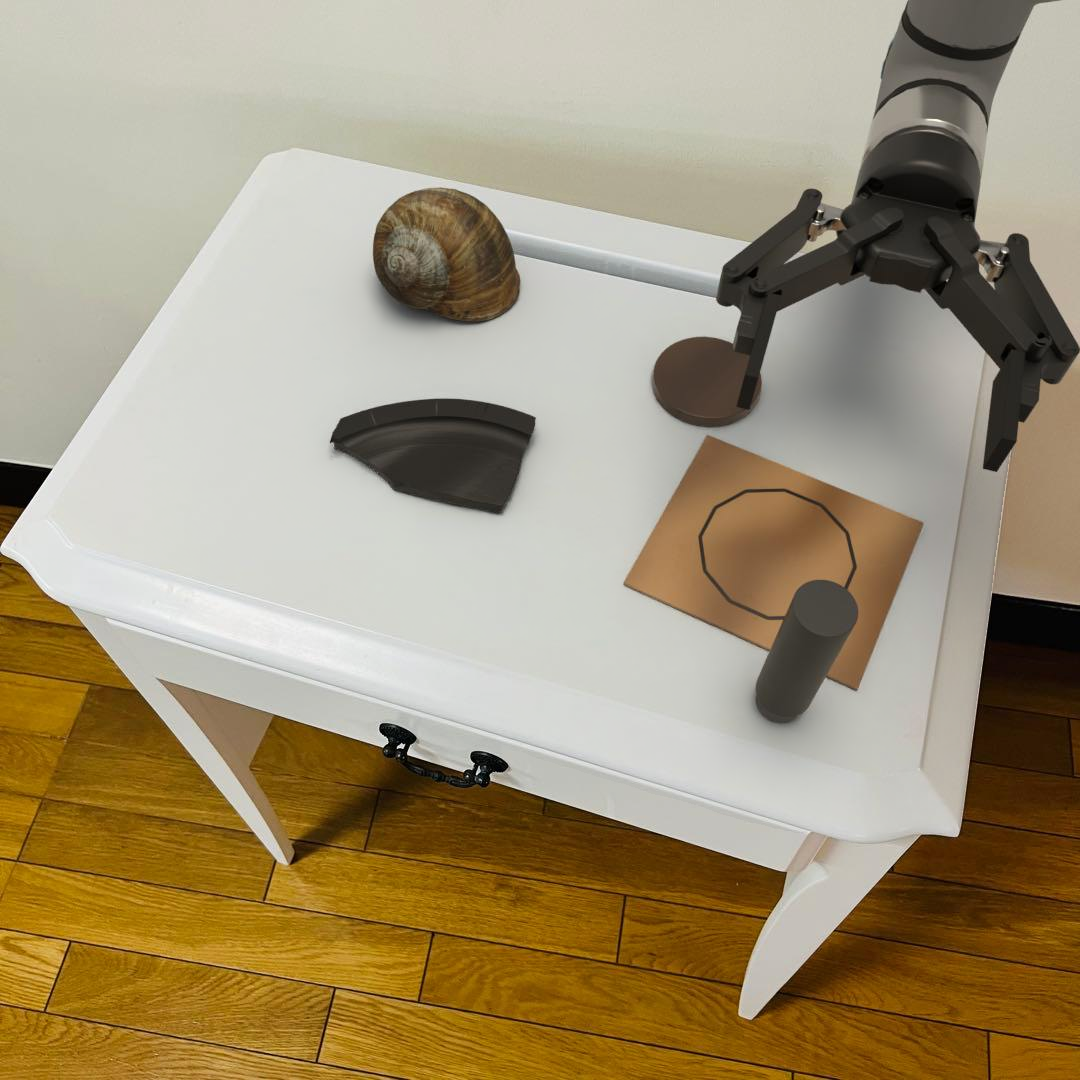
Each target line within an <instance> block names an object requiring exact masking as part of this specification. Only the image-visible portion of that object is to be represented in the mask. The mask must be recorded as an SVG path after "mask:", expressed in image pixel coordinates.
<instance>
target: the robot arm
mask: <svg viewBox="0 0 1080 1080" xmlns="http://www.w3.org/2000/svg"><path fill="white" fill-rule="evenodd" d="M1059 1H1061V0H907V1H906V4H905V7H904V10H903V12H901V13H902V14H901V16H900V19H899V22H898V26H897V29H896V31H895V32H894V35H893V38H892V39H891V41H890V43H889V45H888V47H887V52H886V55H885V58H884V60H883V62H882V65H881V72H880V85H879V89H878V94H877V98H876V103H875V109H874V113H873V116H872V120H871V122H870V126H869V130H868V134H867V138H866V142H865V145H864V149H863V154H862V158H861V162H860V168H859V171H858V174H857V178H856V181H855V186H854V189H853V194H852V199H851V203H850V204H848V205H847V206H846V207H845V208H843V209H842V208H841V207H836V206H832V205H829V204H826V203H823V202H822V201H823V200H822V199H823V193H822V191H820V190H818V189H817V188H807V189H805V190H804V191H803V192H802V195H801V196H800V197H799V200H798V203H797V204H796V207H795V208H794V209H793V210H792V211H790V212H788V214H786V215H785V216H784V217H783V218H781V219H780V220H779V221H778V222H776V223H775V224H774V225H773V226H772V227H770V228H769V229H767V230H766V231H765V232H763V234H761V235H760V236H759V237H758V238H756V239H755V240H753V241H752V242H751V243H750V244H748V245H747V246H746V247H745V248H744V249H742V250H741V251H739V252H738V253H737V254H736V255H734V256H733V257H732V258H731V259H730V260H727V262H726V263H724V265H723V266H722V269H721V273H720V277H719V282H718V285H717V286H718V287H717V291H716V296H715V300H716V303H717V304H718V305H720V306H722V307H725V308H728V307H732V306H734V307H736V308H737V309H738V311H740V316H739V318H738V319H739V320H738V323H737V326H736V330H735V334H734V338H733V342H732V343H733V348H734V352H737V353H741V354H745V355H749V356H750V358H749V362H748V365H747V369H746V372H745V376H744V380H743V383H742V387H741V391H740V394H739V398H738V402H737V406H736V407H739V408H743V409H747V410H750V406H751V403H752V399H753V395H754V392H755V388H756V385H757V381H758V378H759V374H760V373H761V371H762V367H763V364H764V360H765V356H766V353H767V349H768V346H769V343H770V342H769V341H770V338H771V335H772V331H773V327H774V324H775V319H776V316H777V313H778V312H781V311H782V310H784V309H786V308H788V307H791V306H792V305H795V304H796V303H799V302H801V301H803V300H805V299H807V298H809V297H811V296H813V295H815V294H818V293H819V292H821V291H823V290H826V289H828V288H830V287H832V286H834V285H836V284H838V286H844V285H846V284H848V283H851V282H853V281H855V280H857V279H859V278H861V277H863V276H866V277H868V278H869V282H871V283H875V284H879V285H893V286H897V287H900V288H902V289H904V290H907V291H910V292H914V293H919V294H921V293H922V291H923V290H925V292H926V293H927V294H928V295H929V297H931V299H932V300H933V301H934V302H935V303H936V305H937V306H938V307H939V308H940V309H941V310H945V309H948V310H949V311H950V312H951V313H952V314H953V316H955V319H957V320H958V321H959V322H960V323H961V325H962V326H963V327H964V328H965V330H966V331H967V332H968V333H969V334H970V335H971V337H972V338H973V339H974V340H975V341H976V343H977V344H978V345H979V346H980V348H982V350H983V351H984V352H985V353H986V355H987V356H988V357H989V358H990V359H991V361H993V363H994V364H995V365H996V366H997V367H998V368H999V370H998V372H997V373H996V375H995V377H994V379H993V380H992V385H991V395H990V401H989V402H990V403H989V409H988V420H987V427H986V436H985V443H984V444H985V445H984V453H983V462H982V469H983V470H986V471H990V472H995V473H998V471H999V469H1000V468H1001V466H1002V465H1003V463H1004V462H1005V460H1006V459H1007V457H1008V456H1009V454H1010V453H1011V451H1012V450H1013V448H1014V447H1015V445H1016V443H1017V442H1018V432H1019V423H1023V424H1024V423H1025V422H1026V421H1027V419H1028V418H1029V417H1030V415H1031V414H1032V412H1033V410H1034V409H1035V408H1036V406H1037V404H1038V403H1039V401H1040V391H1041V380H1042V381H1043V382H1045V383H1046V384H1048V385H1058V384H1060V382H1061V381H1062V380H1063V378H1064V377H1065V376H1066V374H1067V372H1068V371H1069V370H1070V368H1071V367H1072V365H1073V363H1074V362H1075V360H1076V359H1077V357H1078V356H1079V354H1080V345H1079V344H1078V342H1077V340H1076V338H1075V336H1074V335H1073V333H1072V331H1071V329H1070V328H1069V326H1068V324H1067V323H1066V321H1065V319H1064V317H1063V316H1062V313H1061V312H1060V310H1059V309H1058V306H1057V305H1056V303H1055V301H1054V300H1053V298H1052V296H1051V294H1050V293H1049V290H1048V289H1047V288H1046V286H1045V284H1044V282H1043V281H1042V279H1041V277H1040V275H1039V273H1038V272H1037V270H1036V268H1035V266H1034V265H1033V263H1032V261H1031V253H1030V251H1031V250H1030V241H1029V238H1028V237H1027V236H1026V235H1025V234H1022V233H1017V232H1013V233H1011V234H1009V236H1008V237H1007V239H1006V241H1005V243H1004V242H998V241H992V240H991V241H990V240H985V239H984V240H983V239H981V237H980V235H979V233H978V231H977V229H976V226H975V225H976V224H975V223H976V217H977V211H978V202H979V199H980V198H979V197H980V189H981V180H982V176H983V170H984V161H985V155H986V154H985V153H986V146H987V139H988V130H989V124H990V117H991V112H992V108H993V107H992V106H993V102H994V98H995V95H996V92H997V90H998V87H999V84H1000V83H1001V80H1002V77H1003V76H1004V73H1005V70H1006V68H1007V65H1008V64H1009V61H1010V58H1011V56H1012V54H1013V52H1014V49H1015V47H1016V46H1017V44H1018V42H1019V40H1020V37H1021V35H1022V32H1023V31H1024V29H1025V26H1026V24H1027V22H1028V20H1029V18H1030V16H1031V14H1032V11H1033V10H1034V7H1035V6H1036V5H1039V4H1045V3H1047V4H1048V3H1053V2H1059ZM827 231H835V234H836V239H834V240H832V241H831V242H828V243H826V244H824V245H822V246H820V247H818V248H815V249H813V250H811V251H809V252H807V253H804V254H802V255H801V256H798V257H796V258H794V259H792V258H793V257H795V255H797V254H798V253H799V252H800V251H801V250H802V249H803V248H804V247H805V245H806V244H807V242H808V241H809V242H812V243H814V242H816V241H817V239H818V237H821V236H822V235H824V233H826V232H827ZM980 266H982V267H983V268H984V271H985V273H986V276H985V277H984V275H983V274H981V272H980V271H981V270H980ZM990 283H993V286H992V285H991V284H990Z"/></svg>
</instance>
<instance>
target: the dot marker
mask: <svg viewBox="0 0 1080 1080" xmlns="http://www.w3.org/2000/svg"><path fill="white" fill-rule="evenodd" d="M857 619H858V606H857V603H856V601H855V599H854V597H853V596H852V594H851V593H850V592H849V591H848V590H847V589H846V588H844V587H843V586H841V585H840V584H838V583H835V582H833V581H829V580H813V581H809V582H807V583H805V584H803V585H802V586H800V587H799V588H798V590H797V591H796V592H795V594H794V596H793V599H792V601H791V603H790V606H789V608H788V610H787V612H786V615H785V617H784V619H783V622H782V624H781V626H780V628H779V631H778V633H777V635H776V638H775V640H774V642H773V644H772V647H771V649H770V651H769V652H768V654H767V656H766V658H765V661H764V663H763V665H762V668H761V670H760V672H759V674H758V677H757V679H756V682H755V693H756V695H755V705H756V707H757V709H758V711H759V713H760V714H761V715H762V716H763V717H764V718H766V719H767V720H769V721H771V722H773V723H778V724H785V723H790V722H792V721H793V720H796V718H798V716H800V715H801V714H804V713H805V712H806V711H807V710H808V709H809V707H810V706H811V704H812V702H813V700H814V698H815V697H816V695H817V693H818V692H819V690H820V688H821V686H822V684H823V683H824V681H825V679H826V678H827V677H826V676H827V674H828V672H829V670H830V668H831V667H832V665H833V663H834V661H835V660H836V658H837V656H838V654H839V652H840V651H841V649H842V647H843V645H844V644H845V642H846V640H847V638H848V636H849V635H850V633H851V631H852V629H853V628H854V626H855V624H856V622H857Z"/></svg>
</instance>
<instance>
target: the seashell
mask: <svg viewBox="0 0 1080 1080" xmlns="http://www.w3.org/2000/svg"><path fill="white" fill-rule="evenodd" d="M374 232H375V233H374V236H373V242H372V260H373V267H374V271H375V275H376V277H377V279H378V280H379V282H380V284H381V286H382V287H383V288H384V290H385V291H386V293H388V295H390V296H391V297H392V298H393V299H394V300H396V301H397V302H399V303H400V304H401V305H404V306H406V307H409V308H413V309H423V310H424V309H425V310H426V309H427V310H428V311H430V312H432V313H434V314H436V315H438V316H441V317H444V318H447V319H452V320H455V321H461V322H462V321H463V322H482V321H488V320H492V319H494V318H496V317H498V316H500V315H502V314H503V313H505V312H507V310H509V308H511V307H512V306H513V304H514V303H515V302H516V301H517V299H518V298H519V295H520V288H521V287H520V286H521V276H520V275H521V274H520V273H519V271H518V269H517V264H516V258H515V253H514V252H515V251H514V248H513V245H512V242H511V240H510V238H509V235H508V233H507V231H506V229H505V227H504V225H503V224H502V222H501V221H500V219H499V218H498V217H497V216H496V214H495V213H494V212H493V211H492V209H490V207H489V206H488V205H487V204H485V203H484V202H483V201H481V200H479V199H478V198H476V196H473V195H471V194H470V193H467V192H464V191H461V190H459V189H456V188H447V187H426V188H422V189H418V190H414V191H412V192H409V193H406V194H405V195H403V196H401V197H399V198H398V199H396V200H395V201H394V202H393V203H392V204H391V205H390V206H388V207H387V208H386V210H385V211H384V213H383V214H382V215H381V217H380V219H379V220H378V222H377V224H376V226H375V231H374Z"/></svg>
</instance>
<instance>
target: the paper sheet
mask: <svg viewBox="0 0 1080 1080" xmlns="http://www.w3.org/2000/svg"><path fill="white" fill-rule="evenodd" d="M923 525H924V521H921V520H918V519H915V518H914V517H911V516H909V515H906V514H904V513H901V512H899V511H896V510H894V509H891V508H889V507H886V506H884V505H882V504H879V503H876V502H874V501H873V500H869V499H867V498H864V497H862V496H860V495H857V494H854V493H852V492H849V491H848V490H845V489H842V488H840V487H838V486H835V485H833V484H830V483H828V482H825V481H822V480H820V479H818V478H815V477H813V476H810V475H807V474H805V473H803V472H801V471H798V470H795V469H793V468H791V467H788V466H786V465H783V464H781V463H778V462H776V461H773V460H771V459H768V458H766V457H763V456H761V455H758V454H756V453H754V452H751V451H749V450H747V449H744V448H742V447H739V446H736V445H734V444H731V443H729V442H726V441H724V440H722V439H719V438H717V437H715V436H712V435H709V434H707V435H706V436H705V438H704V440H703V441H702V443H701V445H700V447H699V449H698V450H697V452H696V454H695V455H694V457H693V458H692V461H691V463H690V464H689V466H688V468H687V469H686V471H685V473H684V475H683V476H682V478H681V480H680V481H679V484H678V485H677V487H676V489H675V491H674V493H673V494H672V496H671V498H670V500H669V501H668V503H667V505H666V507H665V509H664V510H663V512H662V514H661V516H660V517H659V519H658V521H657V522H656V524H655V527H654V528H653V529H652V532H651V533H650V535H649V537H648V539H647V541H646V542H645V544H644V546H643V547H642V549H641V551H640V553H639V555H637V556H638V557H637V558H636V559H635V562H634V563H633V565H632V567H631V569H630V571H629V572H628V574H627V576H626V577H625V580H624V581H623V586H625V587H628V588H630V589H632V590H634V591H636V592H639V593H641V594H643V595H645V596H647V597H650V598H652V599H654V600H656V601H658V602H661V603H663V604H665V605H667V606H669V607H672V608H674V609H677V610H678V611H681V612H682V613H685V614H687V615H689V616H692V617H694V618H696V619H698V620H700V621H703V622H704V623H707V624H709V625H711V626H713V627H716V628H718V629H720V630H723V631H724V632H726V633H728V634H731V635H734V636H736V637H738V638H740V639H742V640H744V641H747V642H749V643H751V644H752V645H755V646H757V647H760V648H762V649H764V650H766V651H770V649H771V647H772V644H773V642H774V640H775V638H776V635H777V633H778V631H779V628H780V626H781V624H782V622H783V619H784V617H785V615H786V612H787V610H788V608H789V606H790V603H791V601H792V599H793V596H794V594H795V592H796V591H797V590H798V588H799V587H800V586H802V585H803V584H805V583H807V582H809V581H813V580H829V581H833V582H835V583H838V584H840V585H841V586H843V587H844V588H846V589H847V590H848V591H849V592H850V593H851V594H852V596H853V597H854V599H855V601H856V603H857V606H858V619H857V622H856V624H855V626H854V628H853V629H852V631H851V633H850V635H849V636H848V638H847V640H846V642H845V644H844V645H843V647H842V649H841V651H840V652H839V654H838V656H837V658H836V660H835V661H834V663H833V665H832V667H831V668H830V670H829V672H828V674H827V676H826V677H825V678H828V679H830V680H832V681H835V682H837V683H839V684H841V685H843V686H846V687H848V688H850V689H852V690H855V691H857V690H858V689H859V687H860V684H861V681H862V679H863V677H864V674H865V671H866V669H867V666H868V664H869V662H870V659H871V657H872V655H873V651H874V648H875V647H876V644H877V641H878V639H879V637H880V634H881V631H882V630H883V626H884V624H885V621H886V619H887V617H888V614H889V612H890V609H891V606H892V603H893V602H894V599H895V597H896V594H897V591H898V589H899V586H900V583H901V581H902V579H903V576H904V573H905V571H906V568H907V566H908V563H909V561H910V558H911V556H912V553H913V551H914V548H915V546H916V544H917V541H918V538H919V535H920V533H921V531H922V528H923Z"/></svg>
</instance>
